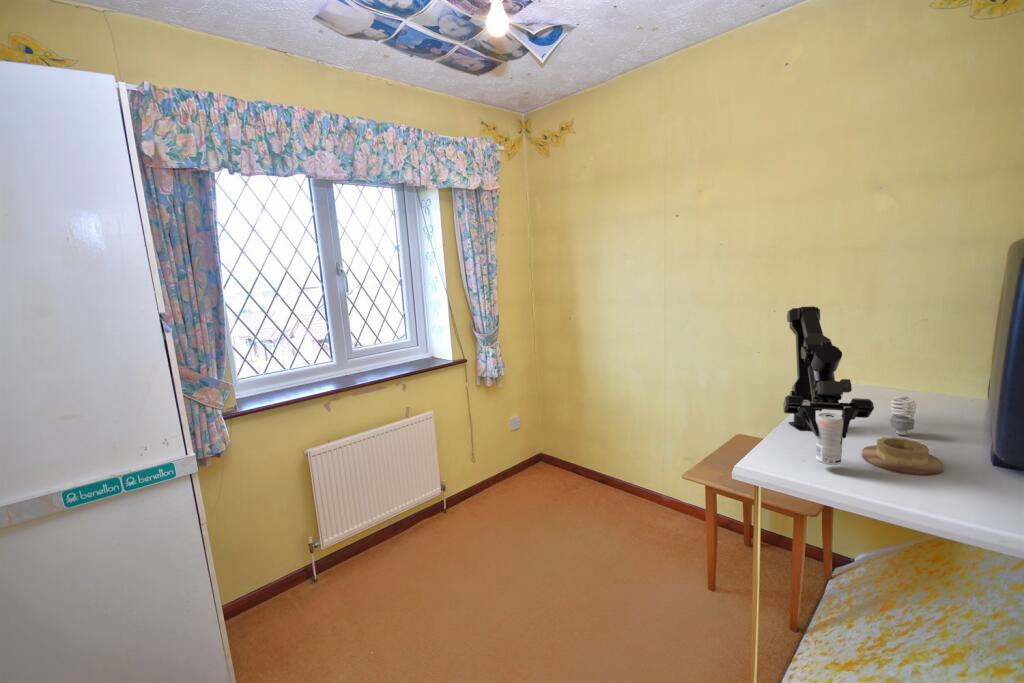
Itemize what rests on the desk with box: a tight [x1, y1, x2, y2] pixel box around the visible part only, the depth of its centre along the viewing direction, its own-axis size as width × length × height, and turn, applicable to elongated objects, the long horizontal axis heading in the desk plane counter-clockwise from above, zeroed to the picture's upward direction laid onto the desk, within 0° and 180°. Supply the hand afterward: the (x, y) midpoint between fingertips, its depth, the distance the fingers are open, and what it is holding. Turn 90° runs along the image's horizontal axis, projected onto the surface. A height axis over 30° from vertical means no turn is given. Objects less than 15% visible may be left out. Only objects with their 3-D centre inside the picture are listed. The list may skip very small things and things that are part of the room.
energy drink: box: [815, 412, 844, 466], centre depth 112 cm, size 5×5×12 cm
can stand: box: [861, 436, 945, 477], centre depth 115 cm, size 16×16×5 cm
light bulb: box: [889, 395, 917, 436], centre depth 130 cm, size 6×6×12 cm
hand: (830, 436), depth 111 cm, fingers closed on energy drink, 5 cm apart
